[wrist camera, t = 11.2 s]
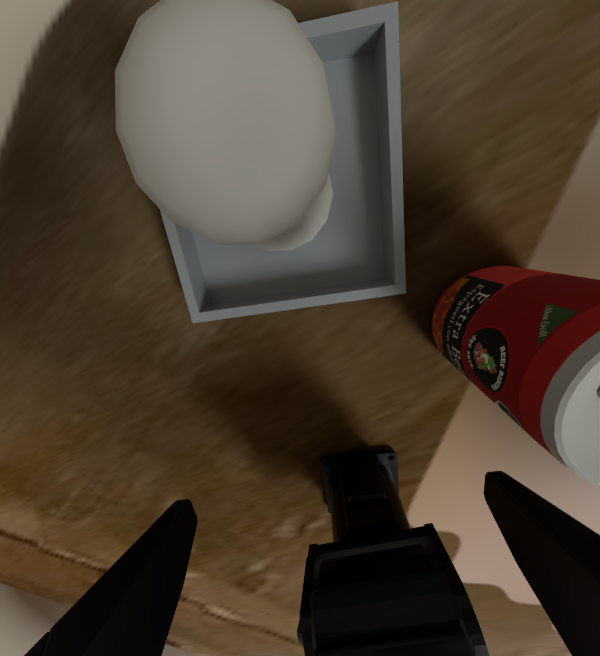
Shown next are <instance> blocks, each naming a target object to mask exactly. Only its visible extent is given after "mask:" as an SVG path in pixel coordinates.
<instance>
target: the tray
mask: <svg viewBox="0 0 600 656" xmlns="http://www.w3.org/2000/svg"><path fill="white" fill-rule="evenodd" d="M298 24H299V26H300V27H301V29H302V31H303V32H304V34H305V35H306V37H307V39H308V40H309V42H310V43H311V45H312V47H313V48H314V50H315V51H316V53H317V55H318V56H319V58H320V59H321V61H322V63H323V65H324V69H325V74H326V79H327V84H328V89H329V95H330V100H331V106H332V111H333V117H334V122H335V127H336V133H337V138H336V142H335V147H334V151H333V155H332V160H331V164H330V169H329V175H330V180H331V185H332V190H333V197H332V201H331V205H330V210H329V214H328V218H327V221H326V222H325V223H324V225H323V226H322V227H321V229H320V230H319V231H318V233H317V234H316V235H315V237H314V238H313V239H312V240H311V241H309V242H307V243H305V244H303V245H301V246H299V247H297V248H296V249H294V250H292V251H267V250H265V249H263V248H261V247H258V246H256V245H254V244H235V245H220V244H218V243H216V242H214V241H212V240H209V239H207V238H205V237H203V236H201V235H199V234H197V233H195V232H193V231H191V230H189V229H187V228H184V227H182V226H180V225H178V224H176V223H174V222H172V221H170V220H169V218H168V217H167V216H166V215H165V214H164V213H163V212H162V211H161V210H160V212H161V216H162V219H163V223H164V226H165V230H166V233H167V236H168V240H169V243H170V247H171V250H172V254H173V257H174V260H175V264H176V267H177V271H178V274H179V278H180V281H181V285H182V288H183V291H184V295H185V298H186V302H187V305H188V309H189V312H190V316H191V319H192V322H193V323H198V322H205V321H212V320H219V319H227V318H234V317H241V316H248V315H255V314H262V313H270V312H277V311H284V310H291V309H298V308H305V307H312V306H320V305H327V304H334V303H341V302H348V301H355V300H362V299H370V298H377V297H384V296H391V295H398V294H405V293H406V273H405V237H404V202H403V166H402V131H401V95H400V59H399V24H398V1H397V2H393V3H388V4H384V5H379V6H374V7H370V8H365V9H361V10H356V11H351V12H347V13H342V14H338V15H333V16H329V17H324V18H319V19H315V20H310V21H306V22H301V23H298ZM118 63H119V62H117V64H118Z"/></svg>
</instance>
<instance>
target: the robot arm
mask: <svg viewBox="0 0 600 656" xmlns="http://www.w3.org/2000/svg"><path fill="white" fill-rule="evenodd" d="M390 455H392V456H390ZM325 462H327V463H325ZM321 470H322V476H323V482H324V488H325V494H326V500H327V507H328V511H329V513H331V518H332V530H333V542H331V543H326V544H320V545H317V544H311V545H309V552H308V557H307V559H306V567H305V575H304V584H303V592H302V600H301V608H300V620H299V624H298V628H297V636H298V641H299V643H300V644H301V645H302V647H303V648H304V652H305V656H489V653H488V650H487V646H486V643H485V640H484V637H483V634H482V631H481V628H480V626H479V623H478V620H477V617H476V615H475V612H474V610H473V607H472V605H471V602H470V600H469V597H468V595H467V593H466V590H465V588H464V586H463V583H462V581H461V579H460V577H459V575H458V574H457V572H456V569H455V567H454V565H453V563H452V561H451V559H450V557H449V555H448V553H447V551H446V549H445V547H444V545H443V544H442V542H441V540H440V538H439V536H438V534H437V532H436V530H435V528H434V526H433V524H432V523H430V524H425V525H424V526H422V527H416V528H411V529H410V526H409V523H408V520H407V517H406V514H405V511H404V509H403V506H402V503H401V500H400V497H399V487H398V466H397V455H396V453H395V451H394V450H380V451H370V452H359V453H349V454H339V455H329V456H323V457H322V458H321ZM484 497H485V500H486V502H487V504H488V506H489V508H490V510H491V512H492V514H493V516H494V518H495V521H496V522H497V525H498V527H499V528H500V530H501V533H502V534H503V537H504V539H505V541H506V543H507V545H508V547H509V549H510V551H511V553H512V555H513V557H514V559H515V561H516V563H517V564H518V566H519V568H520V570H521V571H522V573H523V575H524V576H525V578H526V580H527V581H528V583H529V585H530V586H531V588H532V590H533V591H534V593H535V595H536V596H537V598H538V600H539V601H540V603H541V605H542V606H543V608H544V610H545V611H546V613H547V615H548V616H549V618H550V620H551V621H552V623H553V625H554V626H555V628H556V630H557V631H558V633H559V635H560V636H561V638H562V640H563V641H564V643H565V645H566V646H567V648H568V650H569V651H570V653H571V655H572V656H600V535H599V534H597V533H595V532H594V531H593V530H591V529H590V528H588V527H587V526H585V525H584V524H582V523H581V522H579V521H578V520H576V519H574V518H573V517H571V516H570V515H568V514H567V513H565V512H564V511H562V510H561V509H559V508H558V507H556V506H555V505H553V504H552V503H550V502H548V501H547V500H545V499H544V498H542V497H541V496H539V495H538V494H536V493H535V492H533V491H532V490H530V489H529V488H527V487H526V486H524V485H523V484H521V483H519V482H518V481H516V480H515V479H513V478H512V477H510V476H509V475H507V474H506V473H504V472H502V471H495V472H494V471H493V472H487V473H486V475H485V485H484ZM196 527H197V516H196V513H195V511H194V508H193V505H192V503H191V501H190V500H189V499H184V500H177V501H175V502H174V503H173V504H172V505H171V506H170V507H169V508H168V509H167V510H166V511H165V512H164V513H163V514H162V515H161V516H160V517H159V518H158V519H157V520H156V521H155V522H154V523H153V524H152V526H151V527H150V528H149V529H148V530H147V531H146V532H145V533H144V534H143V535H142V536H141V537H140V538H139V539H138V540H137V541H136V542H135V543H134V544H133V545H132V546H131V547H130V548H129V549H128V550H127V551H126V552H125V553H124V554H123V555H122V556H121V557H120V558H119V559H118V560H117V561H116V562H115V563H114V564H113V565H112V566H111V567H110V568H109V570H108V571H107V572H106V573H105V574H104V575H103V576H102V577H101V578H100V579H99V580H98V581H97V582H96V583H95V584H94V585H93V586H92V587H91V588H90V589H89V590H88V591H87V592H86V593H85V594H84V595H83V596H82V597H81V598H80V599H79V600H78V601H77V602H76V603H75V604H74V605H73V606H72V607H71V608H70V609H69V611H67V612H66V614H65V615H64V616H63V617H62V618H61V619H60V620H59V621H58V622H57V623H56V624H55V625H54V626H53V627H52V628H51V630H50V632H47V633H46V634H45V635H44V636H43V637H42V638H41V639H40V640H39V641H38V642H37V643H36V644H35V645H34V646H33V647H32V648H31V649H30V650H29V651H28V652H27V653H26V654H25V655H24V656H161V655H162V652H163V649H164V646H165V643H166V639H167V636H168V633H169V630H170V627H171V623H172V620H173V617H174V614H175V611H176V608H177V604H178V601H179V598H180V595H181V591H182V588H183V584H184V580H185V576H186V572H187V567H188V563H189V559H190V554H191V550H192V545H193V541H194V536H195V532H196Z"/></svg>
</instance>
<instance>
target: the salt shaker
mask: <svg viewBox="0 0 600 656" xmlns="http://www.w3.org/2000/svg"><path fill="white" fill-rule="evenodd" d="M115 106H116V132H117V135H118V137H119V140H120V142H121V145H122V148H123V150H124V153H125V156H126V158H127V161H128V164H129V166H130V169H131V171H132V174H133V177H134V179H135V182H136V184H137V185H138V186H139V187H140V188H141V189H142V190H143V191H144V192H145V194H146V195H147V196H148V197H149V198H150V199H151V200H152V201H153V202H154V203H155V204H156V205H157V207H158V208H159V209H160V210H161V211H162V212H163V213H164V214H165V215H166V216H167V217H168V218H169V220H170V221H172V222H174V223H176V224H178V225H180V226H182V227H184V228H187V229H189V230H191V231H193V232H195V233H197V234H199V235H201V236H203V237H205V238H207V239H209V240H212V241H214V242H216V243H218V244H220V245H235V244H254V245H256V246H258V247H261V248H263V249H265V250H267V251H292V250H294V249H296V248H297V247H299V246H301V245H303V244H305V243H307V242H309V241H311V240H312V239H313V238H314V237H315V235H316V234H317V233H318V231H319V230H320V229H321V227H322V226H323V225H324V223H325V222H326V221H327V218H328V214H329V210H330V205H331V201H332V197H333V190H332V185H331V180H330V175H329V169H330V164H331V160H332V155H333V151H334V147H335V142H336V138H337V133H336V127H335V122H334V117H333V111H332V106H331V100H330V95H329V89H328V84H327V79H326V74H325V69H324V65H323V63H322V61H321V59H320V58H319V56H318V55H317V53H316V51H315V50H314V48H313V47H312V45H311V43H310V42H309V40H308V39H307V37H306V35H305V34H304V32H303V31H302V29H301V27H300V26H299V24H298V23H297V21H296V19H295V18H294V16H293V15H292V13H291V11H290V10H288V9H287V8H285V7H283V6H281V5H280V4H278V3H276V2H274V1H273V0H160V1H159V2H157V3H156V4H155V5H154V6H152V7H151V8H150V9H149V10H147V11H146V12H145V13H144V14H142V15H141V16H140V17H138V20H137V22H136V24H135V27H134V29H133V31H132V33H131V36H130V38H129V40H128V42H127V45H126V47H125V49H124V51H123V54H122V56H121V58H120V60H119V63H118V65H117V67H116V70H115Z"/></svg>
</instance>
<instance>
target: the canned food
mask: <svg viewBox="0 0 600 656" xmlns="http://www.w3.org/2000/svg"><path fill="white" fill-rule="evenodd" d="M431 325H432V333H433V336H434V339H435V342H436V345H437V347H438V349H439V350H440V352H441V353H442V355H443V356H444V357H445V358H446V359H447V360H448V361H449V362H451V363H452V364H453V365H454V366H455V367H456V368H457V369H458V370H459V371H460V372H461V373H463V374H464V375H465V376H466V377H467V378H468V379H469V380H470V381H471V382H472V383H473V384H475V385H476V386H477V387H478V388H479V389H480V390H481V391H482V392H483V393H484V394H485V395H486V396H488V397H489V398H490V399H491V400H492V401H493V402H494V403H495V404H496V405H497V406H498V407H500V408H501V409H502V410H503V411H504V412H505V413H506V414H507V415H508V416H509V417H510V418H511V419H513V420H514V421H515V422H516V423H517V424H518V425H519V426H520V427H521V428H522V429H523V430H525V431H526V432H527V433H528V434H529V435H530V436H531V437H532V438H533V439H534V440H535V441H536V442H538V443H539V444H540V445H541V446H542V447H543V448H545V449H546V450H547V451H548V452H549V453H550V454H552V455H553V456H554V457H555V458H556V459H557V460H558V461H560V463H561V464H563V465H564V466H566V467H568V468H569V469H570V470H572V471H573V472H574V473H575V474H576V475H577V476H579V477H581V478H583V479H584V480H586V481H588V482H590V483H592V484H595V485H598V486H600V280H596V279H589V278H583V277H576V276H570V275H564V274H557V273H550V272H544V271H538V270H532V269H525V268H519V267H512V266H493V267H489V268H484V269H480V270H476V271H474V272H471V273H469V274H466V275H464V276H463V277H461V278H460V279H458V280H456V281H455V282H454V283H453V284H451V285H450V286H449V287H448V288H447V289H446V290H445V292H444V293H443V294H442V295H441V296H440V298H439V300H438V302H437V304H436V305H435V308H434V312H433V315H432V324H431Z"/></svg>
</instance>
